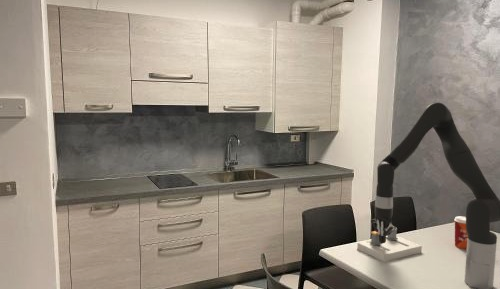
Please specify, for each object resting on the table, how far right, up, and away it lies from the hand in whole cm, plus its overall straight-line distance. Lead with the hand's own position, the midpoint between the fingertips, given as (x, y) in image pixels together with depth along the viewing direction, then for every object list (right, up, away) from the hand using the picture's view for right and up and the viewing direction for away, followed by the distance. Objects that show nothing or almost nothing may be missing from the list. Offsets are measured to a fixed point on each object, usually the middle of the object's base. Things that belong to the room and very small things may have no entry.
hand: (382, 242), depth 167 cm
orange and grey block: (-2, -1, +4) cm, 4 cm away
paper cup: (+42, -5, +10) cm, 43 cm away
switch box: (+5, -5, +4) cm, 8 cm away
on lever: (+8, -1, +10) cm, 13 cm away
